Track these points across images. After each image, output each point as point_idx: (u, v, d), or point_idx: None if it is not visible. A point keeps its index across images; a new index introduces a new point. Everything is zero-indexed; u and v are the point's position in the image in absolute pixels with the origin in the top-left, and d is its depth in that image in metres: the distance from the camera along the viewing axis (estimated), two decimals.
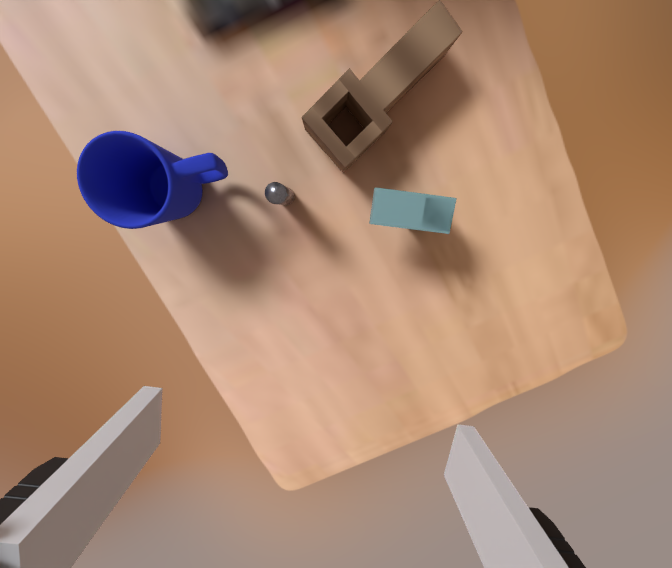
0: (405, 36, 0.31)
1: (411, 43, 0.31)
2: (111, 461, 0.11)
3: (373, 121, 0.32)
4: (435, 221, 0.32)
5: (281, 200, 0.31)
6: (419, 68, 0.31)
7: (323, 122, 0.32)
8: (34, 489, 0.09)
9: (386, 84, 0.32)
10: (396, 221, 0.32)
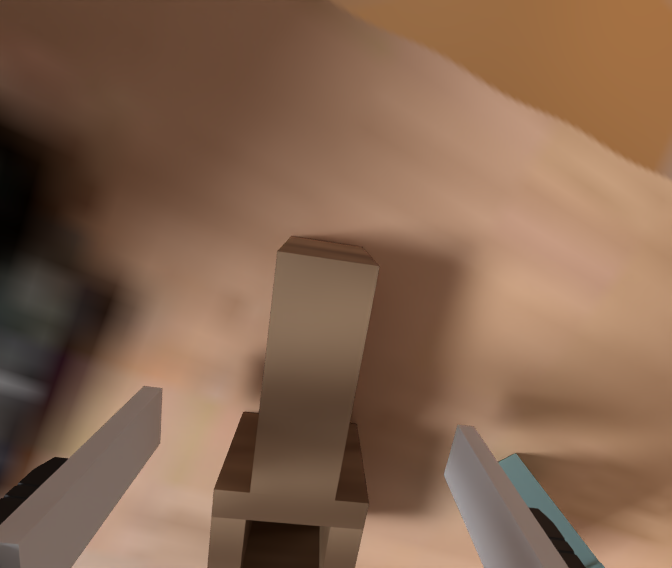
0: (268, 367, 0.12)
1: (291, 369, 0.12)
2: (111, 461, 0.11)
3: (333, 527, 0.14)
4: None
5: None
6: (346, 393, 0.12)
7: None
8: (34, 489, 0.09)
9: (304, 462, 0.13)
10: None
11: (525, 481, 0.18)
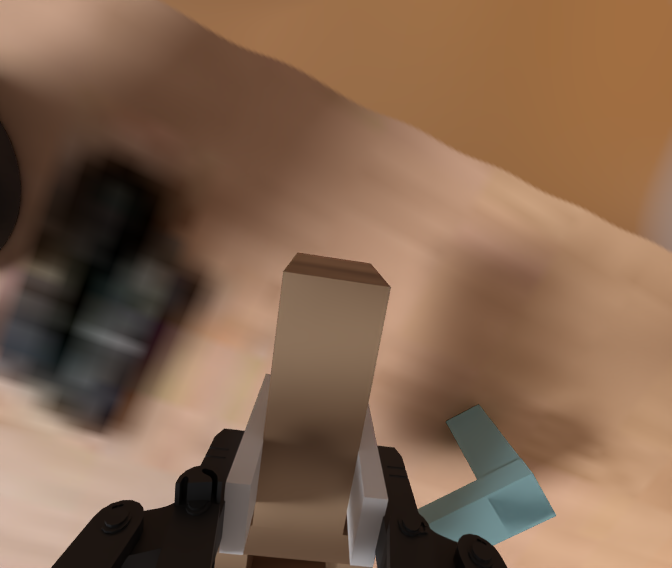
0: (272, 393, 0.11)
1: (297, 394, 0.11)
2: None
3: (340, 563, 0.13)
4: (524, 515, 0.19)
5: None
6: (355, 421, 0.12)
7: None
8: (224, 451, 0.12)
9: (310, 493, 0.12)
10: None
11: (482, 420, 0.24)
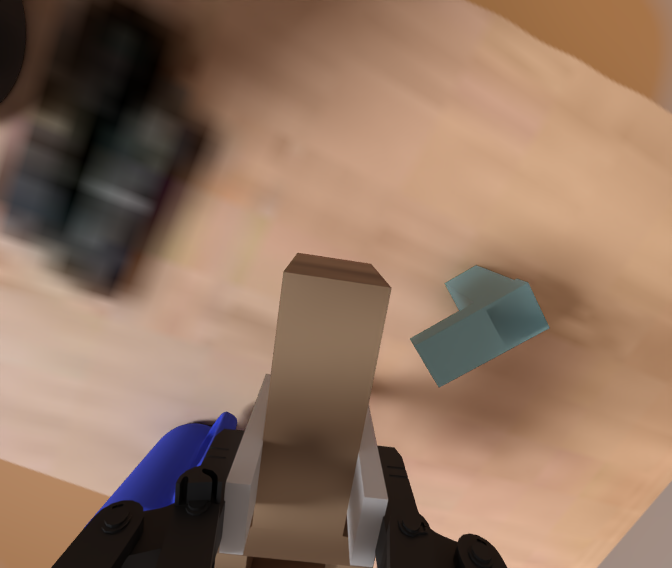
0: (272, 394, 0.11)
1: (297, 395, 0.11)
2: None
3: (340, 565, 0.13)
4: (520, 327, 0.21)
5: None
6: (355, 422, 0.11)
7: None
8: (224, 451, 0.12)
9: (310, 495, 0.12)
10: (469, 363, 0.21)
11: (479, 272, 0.26)
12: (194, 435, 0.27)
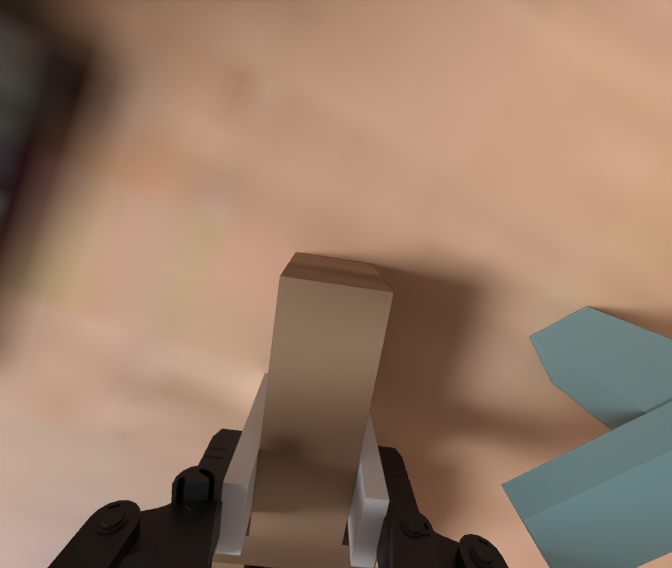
0: (269, 402, 0.11)
1: (294, 404, 0.11)
2: None
3: None
4: None
5: None
6: (355, 431, 0.11)
7: None
8: (222, 451, 0.12)
9: (308, 504, 0.12)
10: (640, 551, 0.10)
11: (606, 324, 0.14)
12: None
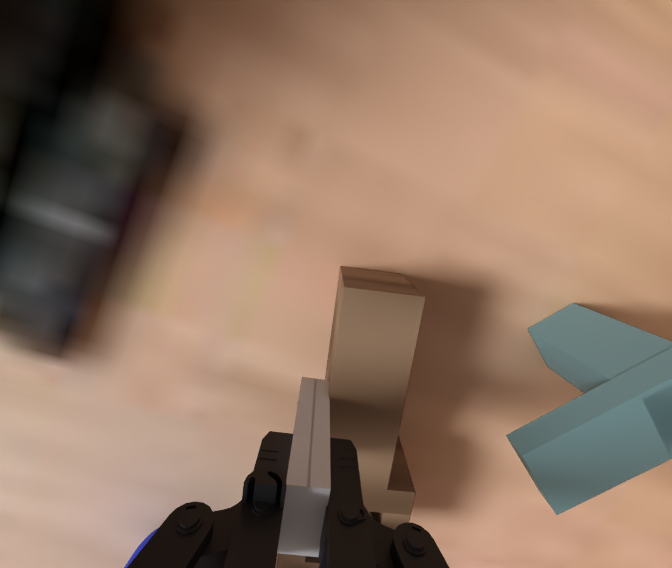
0: (334, 379, 0.15)
1: (353, 380, 0.15)
2: None
3: (385, 512, 0.16)
4: None
5: None
6: (397, 400, 0.15)
7: (312, 565, 0.17)
8: (274, 453, 0.12)
9: (362, 457, 0.16)
10: (607, 478, 0.13)
11: (587, 317, 0.18)
12: None
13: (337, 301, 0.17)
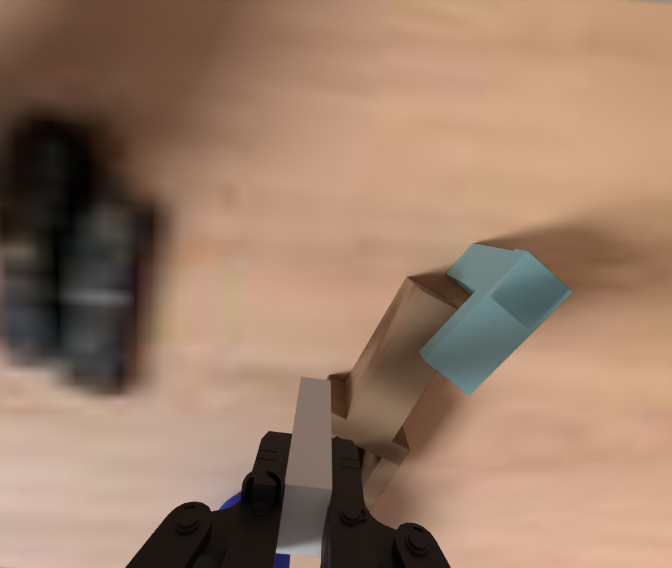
0: (390, 350, 0.21)
1: (402, 355, 0.21)
2: None
3: (383, 458, 0.22)
4: (537, 303, 0.18)
5: None
6: (425, 380, 0.21)
7: None
8: (273, 453, 0.12)
9: (385, 412, 0.22)
10: (492, 359, 0.18)
11: (478, 251, 0.23)
12: None
13: (400, 300, 0.23)
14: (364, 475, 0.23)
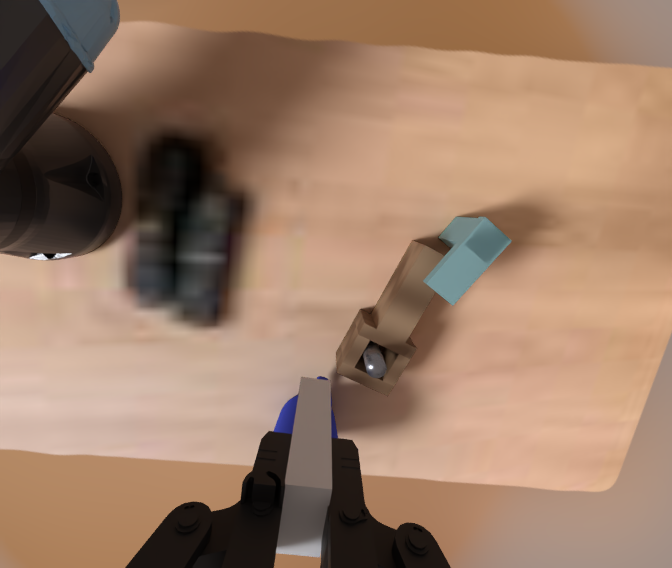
0: (404, 283, 0.33)
1: (412, 286, 0.33)
2: None
3: (399, 354, 0.35)
4: (491, 247, 0.30)
5: (385, 368, 0.32)
6: (426, 301, 0.34)
7: (356, 370, 0.35)
8: (273, 453, 0.12)
9: (401, 323, 0.34)
10: (466, 282, 0.31)
11: (458, 221, 0.35)
12: None
13: (409, 254, 0.36)
14: (387, 368, 0.36)
